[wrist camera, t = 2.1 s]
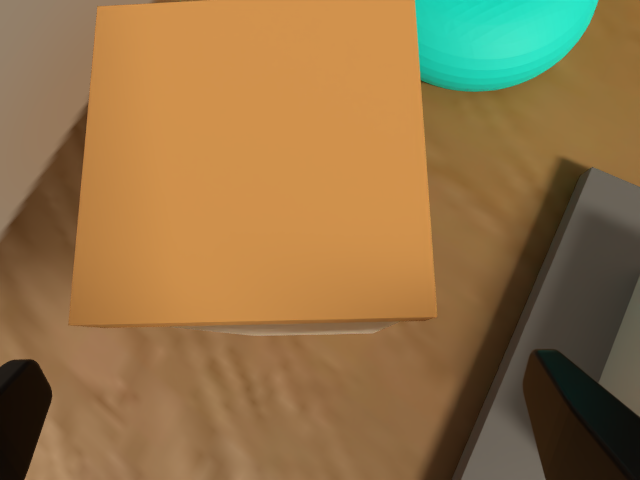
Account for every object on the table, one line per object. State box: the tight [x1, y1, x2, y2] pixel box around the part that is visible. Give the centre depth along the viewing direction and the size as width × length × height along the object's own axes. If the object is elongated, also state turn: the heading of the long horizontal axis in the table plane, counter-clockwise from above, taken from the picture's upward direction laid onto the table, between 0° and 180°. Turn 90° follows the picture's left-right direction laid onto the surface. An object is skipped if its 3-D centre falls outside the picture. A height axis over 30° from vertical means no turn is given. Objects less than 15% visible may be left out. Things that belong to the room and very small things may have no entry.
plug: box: [68, 0, 437, 336], centre depth 13 cm, size 5×5×13 cm
